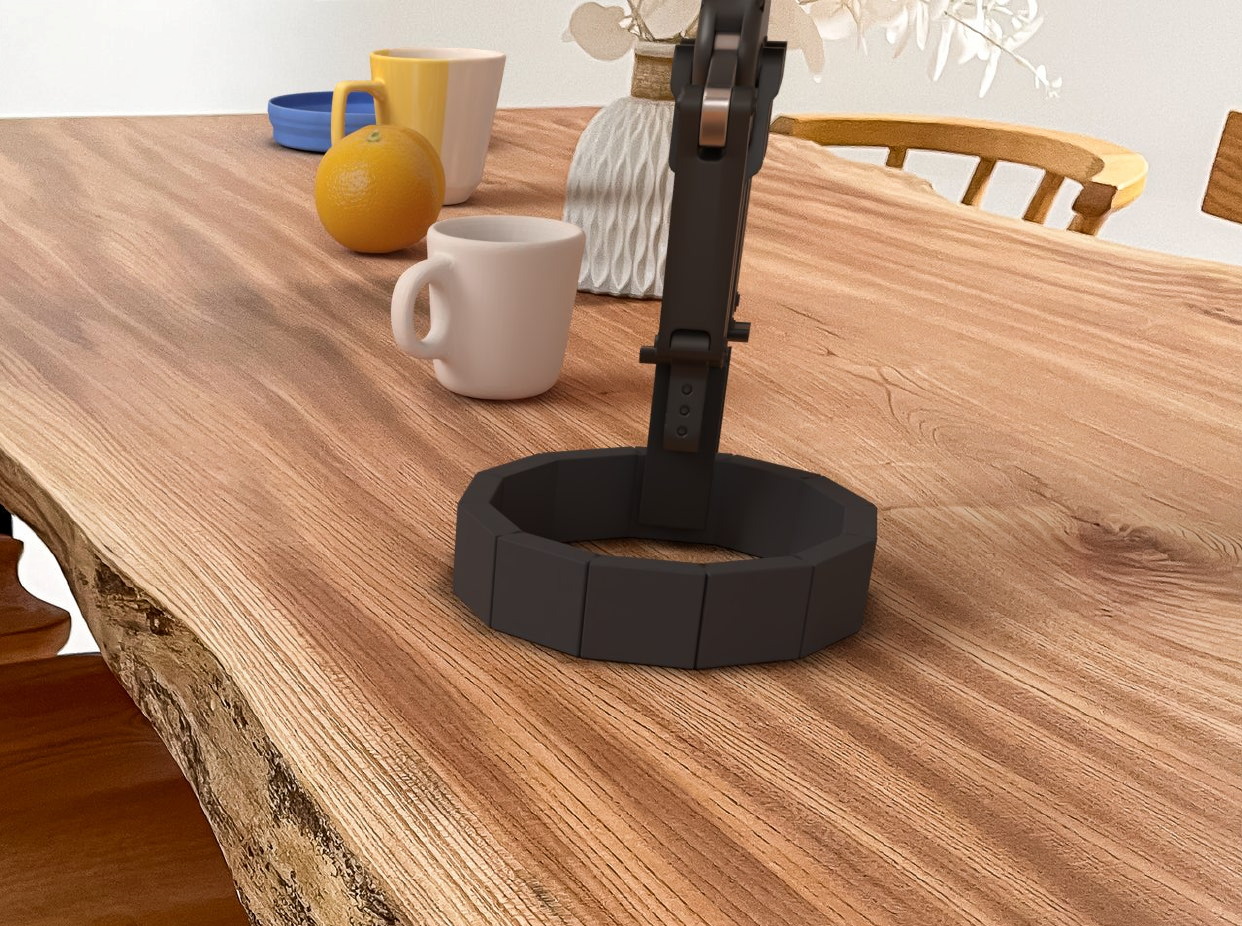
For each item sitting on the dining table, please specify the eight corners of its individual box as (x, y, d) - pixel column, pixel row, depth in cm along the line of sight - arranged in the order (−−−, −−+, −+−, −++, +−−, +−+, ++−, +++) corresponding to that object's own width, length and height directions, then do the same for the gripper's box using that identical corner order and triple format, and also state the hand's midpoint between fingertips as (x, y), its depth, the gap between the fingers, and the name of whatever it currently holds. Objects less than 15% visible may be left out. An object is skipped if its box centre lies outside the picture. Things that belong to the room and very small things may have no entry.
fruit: (308, 261, 131) (311, 132, 127) (318, 239, 138) (321, 116, 134) (440, 265, 130) (447, 135, 126) (443, 242, 137) (450, 118, 133)
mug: (472, 186, 157) (480, 43, 152) (515, 208, 149) (525, 57, 143) (308, 192, 155) (311, 47, 149) (342, 215, 146) (346, 61, 141)
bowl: (471, 158, 170) (474, 114, 168) (265, 157, 170) (265, 113, 168) (457, 130, 185) (460, 89, 183) (268, 128, 186) (269, 88, 184)
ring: (863, 548, 80) (877, 464, 78) (860, 686, 67) (877, 589, 66) (492, 516, 84) (498, 434, 82) (423, 642, 71) (428, 548, 69)
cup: (440, 426, 96) (449, 255, 92) (346, 391, 102) (350, 229, 97) (604, 395, 101) (619, 232, 97) (505, 364, 107) (516, 209, 102)
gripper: (666, -145, 76) (605, 457, 88) (623, -137, 63) (560, 564, 75) (865, -143, 74) (775, 470, 86) (862, -135, 61) (758, 582, 74)
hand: (675, 513), depth 81 cm, fingers open, 2 cm apart
